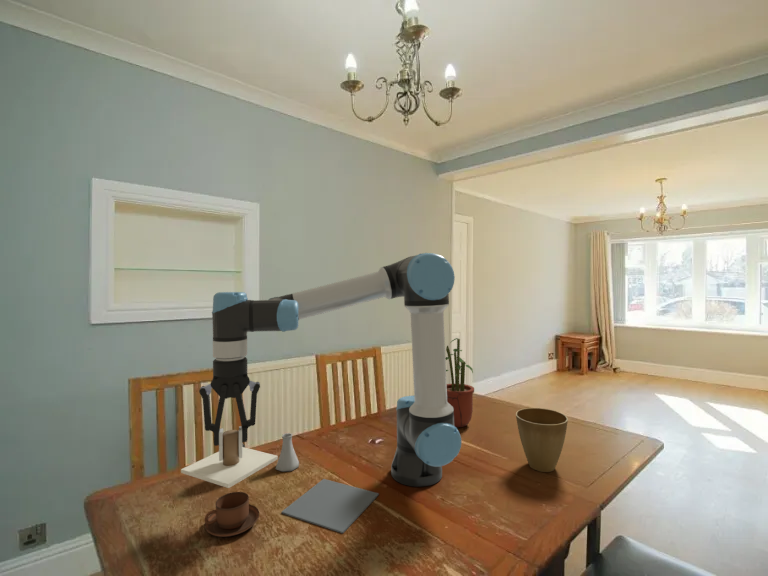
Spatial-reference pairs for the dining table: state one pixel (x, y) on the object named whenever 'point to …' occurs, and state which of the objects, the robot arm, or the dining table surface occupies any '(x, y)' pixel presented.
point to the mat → (331, 505)
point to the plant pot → (542, 436)
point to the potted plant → (459, 390)
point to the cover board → (229, 472)
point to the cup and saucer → (231, 515)
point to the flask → (287, 455)
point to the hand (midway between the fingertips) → (231, 456)
